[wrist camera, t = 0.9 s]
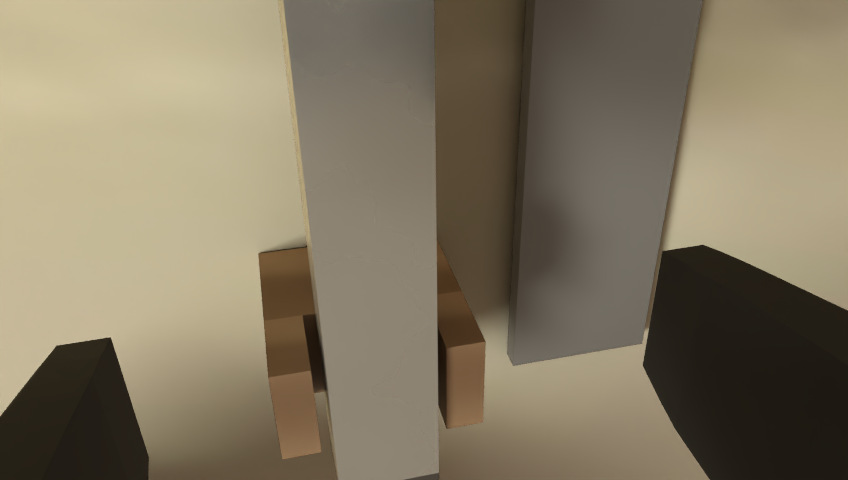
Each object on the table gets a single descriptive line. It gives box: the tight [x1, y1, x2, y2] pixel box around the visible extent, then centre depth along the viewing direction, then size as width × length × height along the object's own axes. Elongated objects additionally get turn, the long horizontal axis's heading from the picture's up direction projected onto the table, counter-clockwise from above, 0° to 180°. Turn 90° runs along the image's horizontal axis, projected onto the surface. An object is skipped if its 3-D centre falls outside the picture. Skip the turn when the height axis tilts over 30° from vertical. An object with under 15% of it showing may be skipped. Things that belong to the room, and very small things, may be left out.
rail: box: [278, 0, 439, 480], centre depth 15 cm, size 16×2×2 cm, turn 1°
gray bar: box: [507, 0, 703, 366], centre depth 19 cm, size 18×4×1 cm, turn 1°
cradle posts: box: [259, 240, 485, 459], centre depth 16 cm, size 13×5×5 cm, turn 1°
